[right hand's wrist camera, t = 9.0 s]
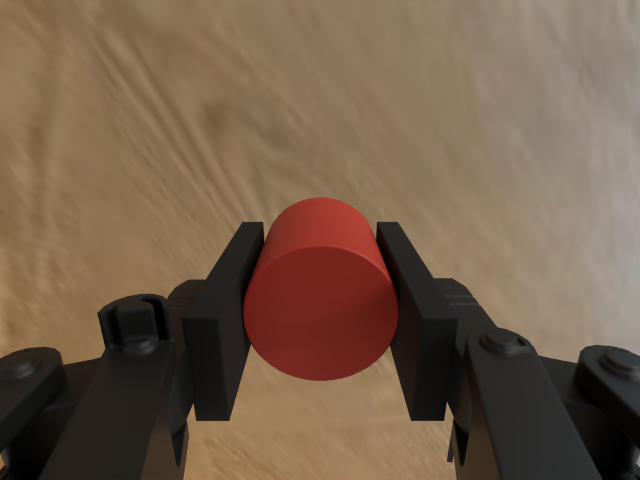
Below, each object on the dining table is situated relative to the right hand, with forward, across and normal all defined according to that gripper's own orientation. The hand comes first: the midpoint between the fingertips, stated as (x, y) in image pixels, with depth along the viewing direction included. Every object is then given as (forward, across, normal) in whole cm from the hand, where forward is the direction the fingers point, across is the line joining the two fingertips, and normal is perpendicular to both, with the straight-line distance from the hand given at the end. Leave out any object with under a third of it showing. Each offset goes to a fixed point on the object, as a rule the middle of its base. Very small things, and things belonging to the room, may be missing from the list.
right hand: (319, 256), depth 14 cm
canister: (0, 0, 0) cm, 0 cm away
